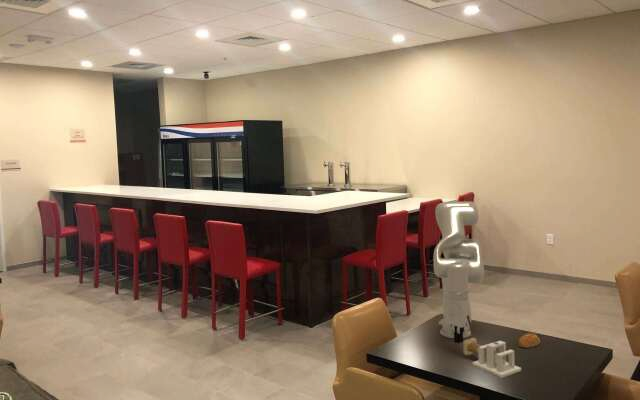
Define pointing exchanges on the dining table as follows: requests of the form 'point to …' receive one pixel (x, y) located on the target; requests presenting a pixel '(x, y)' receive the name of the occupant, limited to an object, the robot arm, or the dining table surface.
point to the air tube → (476, 348)
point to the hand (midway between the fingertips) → (458, 342)
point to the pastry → (529, 340)
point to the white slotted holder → (497, 360)
